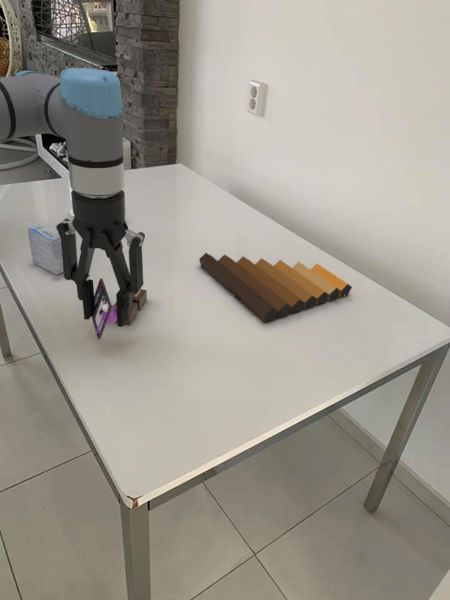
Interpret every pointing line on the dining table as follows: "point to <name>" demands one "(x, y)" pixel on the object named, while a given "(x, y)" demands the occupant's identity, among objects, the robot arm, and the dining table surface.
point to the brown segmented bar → (135, 305)
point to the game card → (103, 309)
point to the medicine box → (46, 247)
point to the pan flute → (275, 285)
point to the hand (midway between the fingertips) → (106, 318)
